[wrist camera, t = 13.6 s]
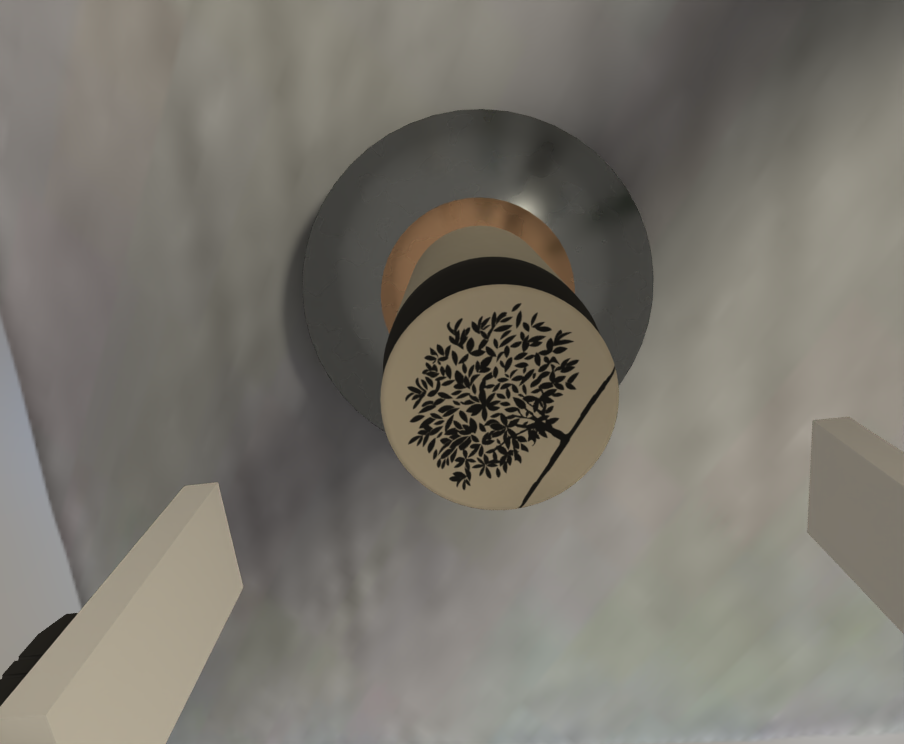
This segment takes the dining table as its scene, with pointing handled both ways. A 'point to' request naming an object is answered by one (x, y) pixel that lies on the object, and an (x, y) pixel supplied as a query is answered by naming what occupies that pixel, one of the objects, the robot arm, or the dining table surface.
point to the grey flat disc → (462, 205)
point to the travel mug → (495, 375)
